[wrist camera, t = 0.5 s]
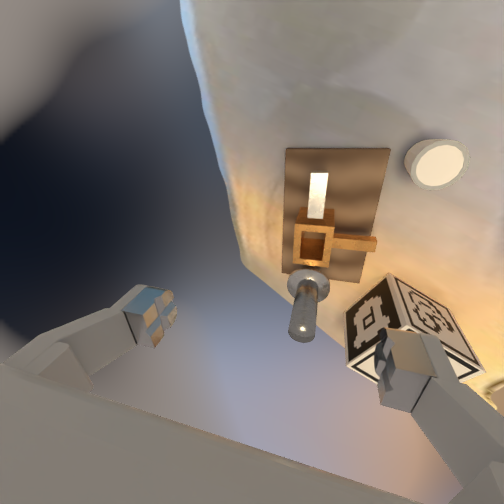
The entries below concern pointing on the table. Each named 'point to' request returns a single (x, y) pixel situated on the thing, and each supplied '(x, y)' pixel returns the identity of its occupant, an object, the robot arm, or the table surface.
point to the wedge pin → (317, 194)
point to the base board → (335, 200)
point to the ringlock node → (315, 268)
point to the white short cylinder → (436, 163)
